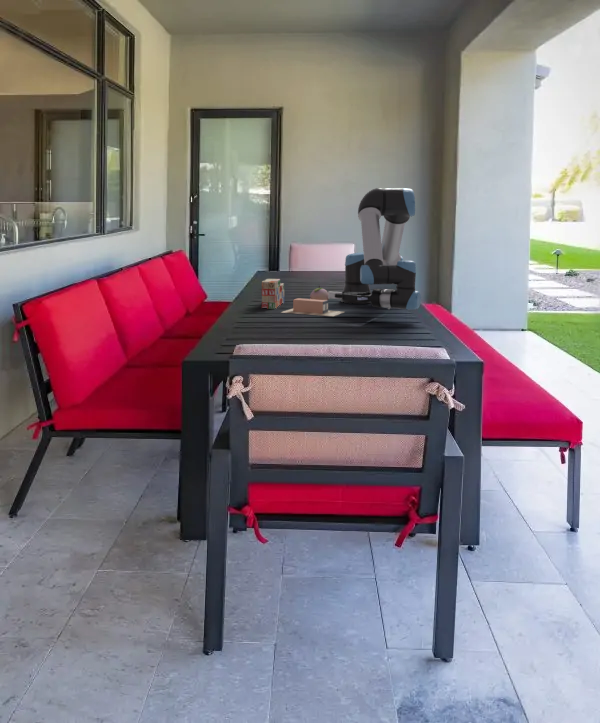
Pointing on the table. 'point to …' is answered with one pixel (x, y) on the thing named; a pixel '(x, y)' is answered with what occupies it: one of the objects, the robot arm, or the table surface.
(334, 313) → the board
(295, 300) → the block
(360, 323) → the table surface
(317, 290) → the decorative fruit
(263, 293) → the stack of blocks
